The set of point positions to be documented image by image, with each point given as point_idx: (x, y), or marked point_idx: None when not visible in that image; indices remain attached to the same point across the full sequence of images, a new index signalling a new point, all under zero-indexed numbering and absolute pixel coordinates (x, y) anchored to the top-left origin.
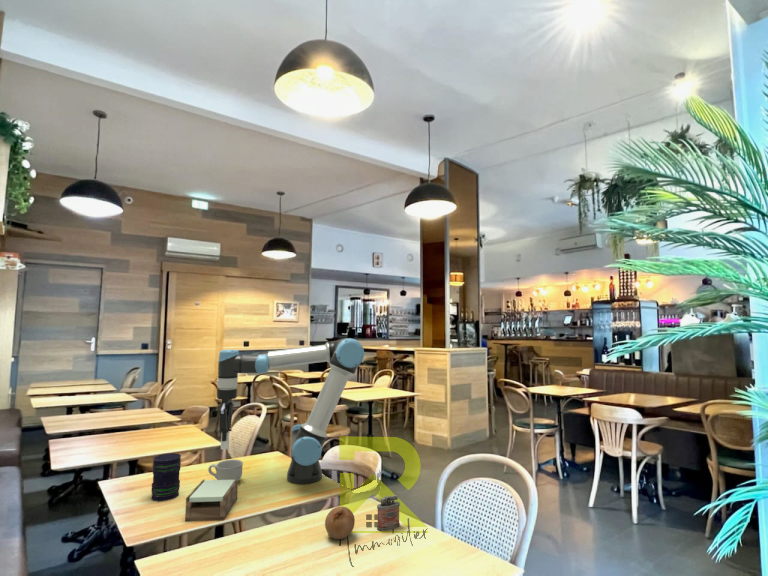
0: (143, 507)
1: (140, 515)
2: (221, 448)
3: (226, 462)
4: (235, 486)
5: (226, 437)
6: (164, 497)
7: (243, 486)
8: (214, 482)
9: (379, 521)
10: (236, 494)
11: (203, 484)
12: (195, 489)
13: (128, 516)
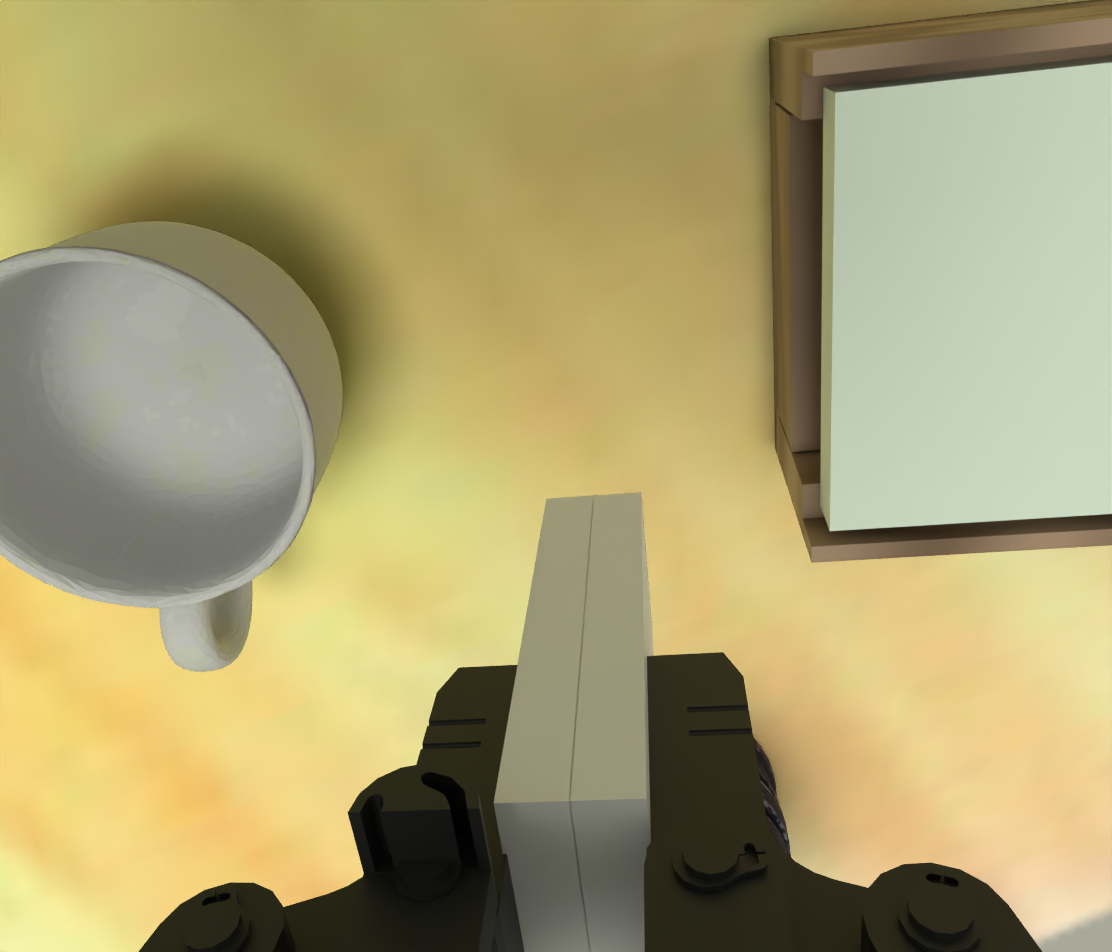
0: (904, 848)
1: (1082, 807)
2: (651, 631)
3: (13, 520)
4: (964, 29)
5: (651, 717)
6: (770, 783)
7: (316, 117)
8: (941, 377)
9: None
10: (841, 34)
11: (1008, 493)
12: None
13: (1084, 873)
